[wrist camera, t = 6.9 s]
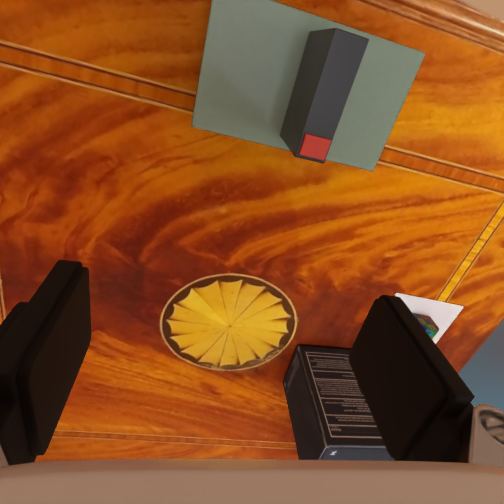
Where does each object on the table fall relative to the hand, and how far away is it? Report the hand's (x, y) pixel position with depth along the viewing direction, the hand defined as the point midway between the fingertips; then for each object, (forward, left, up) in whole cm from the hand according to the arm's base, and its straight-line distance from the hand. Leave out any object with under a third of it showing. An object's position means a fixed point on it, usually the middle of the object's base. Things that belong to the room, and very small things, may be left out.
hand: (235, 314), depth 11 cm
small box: (+4, -25, -16) cm, 30 cm away
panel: (+6, +4, -16) cm, 18 cm away
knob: (+6, +4, -13) cm, 15 cm away
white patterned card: (+13, -22, -16) cm, 30 cm away
